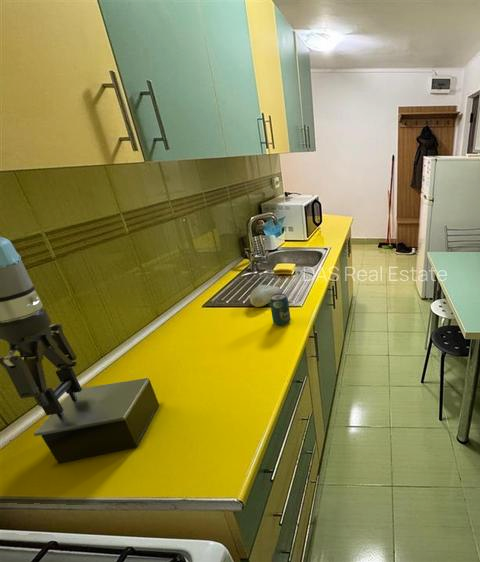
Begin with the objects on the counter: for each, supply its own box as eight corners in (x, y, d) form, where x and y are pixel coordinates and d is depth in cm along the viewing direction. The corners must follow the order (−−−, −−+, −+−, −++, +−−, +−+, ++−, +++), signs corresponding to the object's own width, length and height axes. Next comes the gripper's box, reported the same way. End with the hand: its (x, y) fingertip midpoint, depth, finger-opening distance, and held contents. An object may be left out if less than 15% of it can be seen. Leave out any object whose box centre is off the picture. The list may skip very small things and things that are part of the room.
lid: (34, 436, 65) (20, 412, 62) (75, 391, 77) (64, 370, 74) (124, 420, 68) (114, 396, 66) (149, 380, 80) (141, 359, 78)
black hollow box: (58, 463, 68) (40, 435, 65) (93, 417, 80) (80, 391, 77) (137, 447, 72) (124, 420, 68) (159, 405, 84) (149, 380, 80)
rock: (242, 309, 134) (261, 292, 152) (267, 311, 133) (283, 294, 152) (240, 293, 131) (260, 278, 150) (266, 296, 130) (282, 280, 149)
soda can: (286, 328, 120) (282, 301, 116) (270, 326, 122) (265, 299, 117) (293, 319, 127) (290, 293, 122) (278, 317, 128) (274, 292, 123)
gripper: (1, 336, 54) (56, 431, 63) (70, 293, 71) (106, 372, 80) (-54, 343, 52) (11, 440, 61) (31, 296, 69) (72, 377, 78)
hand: (65, 401), depth 70 cm, fingers closed on lid, 6 cm apart
